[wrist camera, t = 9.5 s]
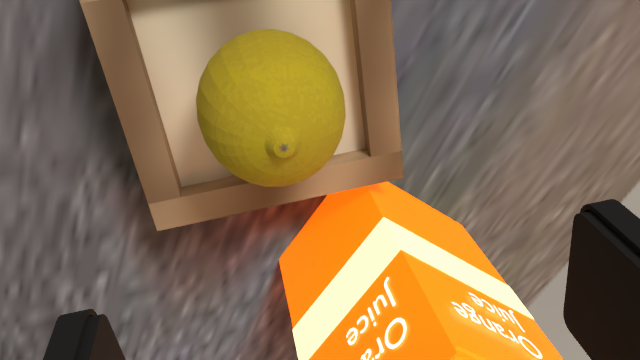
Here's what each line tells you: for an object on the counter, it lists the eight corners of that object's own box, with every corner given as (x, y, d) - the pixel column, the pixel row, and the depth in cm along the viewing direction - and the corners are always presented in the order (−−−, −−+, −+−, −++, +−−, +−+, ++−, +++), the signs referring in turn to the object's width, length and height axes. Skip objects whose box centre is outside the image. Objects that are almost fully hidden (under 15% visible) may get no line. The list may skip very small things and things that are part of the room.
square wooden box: (358, -96, 25) (384, -92, 22) (380, 144, 31) (403, 178, 28) (85, -51, 24) (66, -39, 21) (162, 190, 30) (157, 231, 26)
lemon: (331, 19, 24) (384, 72, 17) (312, 138, 27) (352, 226, 20) (200, 3, 23) (200, 53, 16) (193, 129, 25) (189, 221, 18)
